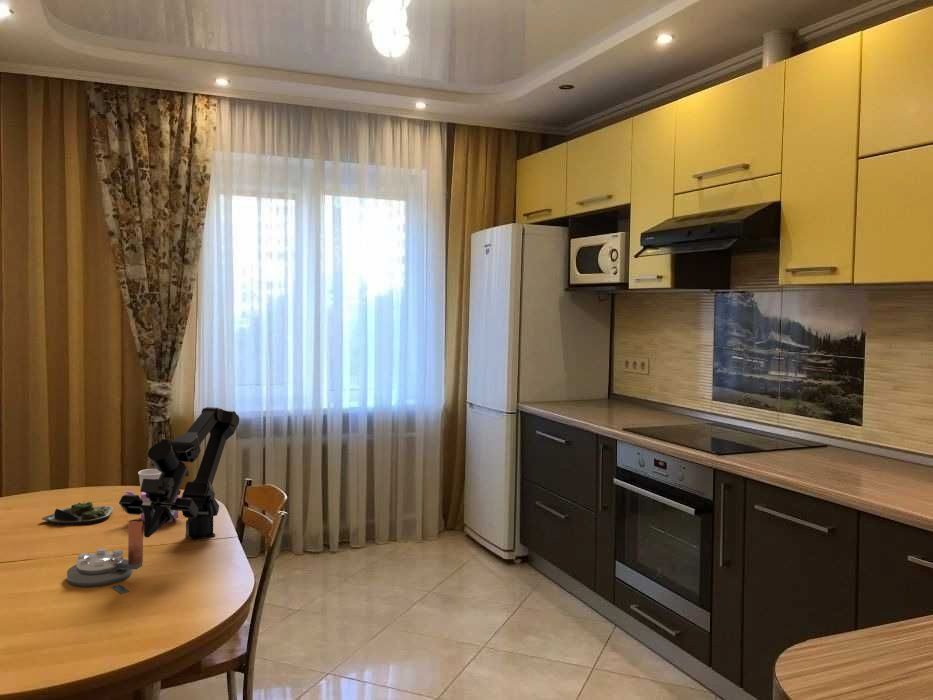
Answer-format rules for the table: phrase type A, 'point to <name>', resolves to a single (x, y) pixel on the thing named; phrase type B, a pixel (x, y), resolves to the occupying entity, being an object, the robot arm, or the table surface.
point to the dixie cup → (148, 474)
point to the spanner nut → (115, 554)
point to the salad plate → (79, 514)
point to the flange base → (98, 578)
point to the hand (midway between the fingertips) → (146, 536)
